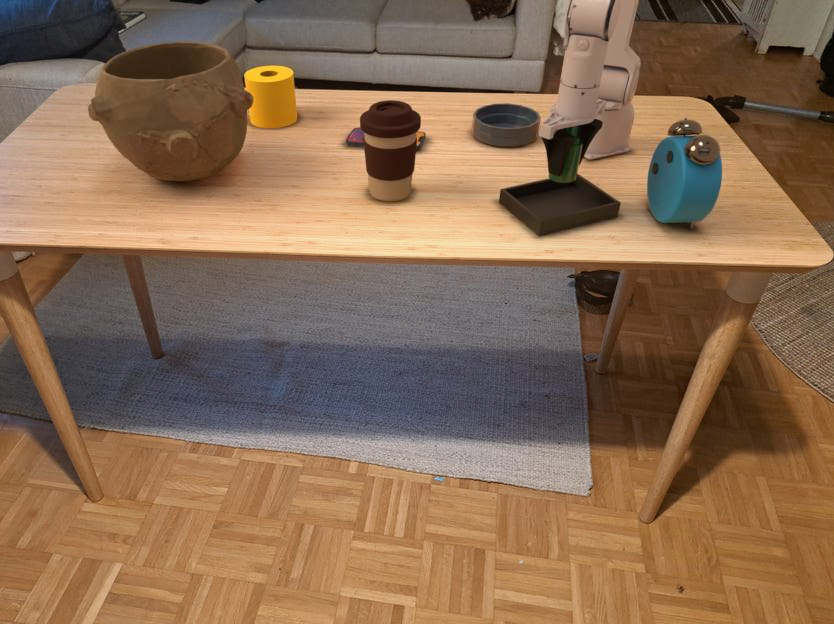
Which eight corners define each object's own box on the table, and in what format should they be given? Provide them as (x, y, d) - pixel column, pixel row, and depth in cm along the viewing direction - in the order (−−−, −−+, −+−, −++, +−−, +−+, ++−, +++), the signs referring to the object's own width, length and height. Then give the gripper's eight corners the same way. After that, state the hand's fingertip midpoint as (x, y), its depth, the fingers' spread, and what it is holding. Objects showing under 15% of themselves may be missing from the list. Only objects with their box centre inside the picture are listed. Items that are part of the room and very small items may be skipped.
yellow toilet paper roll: (243, 126, 143) (236, 80, 136) (259, 108, 150) (254, 64, 144) (288, 130, 141) (284, 83, 135) (303, 111, 148) (299, 67, 142)
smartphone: (354, 131, 140) (354, 126, 139) (426, 136, 136) (426, 131, 136) (344, 146, 134) (344, 141, 134) (419, 152, 131) (419, 146, 130)
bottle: (565, 168, 112) (575, 116, 106) (581, 180, 109) (592, 126, 103) (542, 173, 111) (551, 120, 105) (558, 185, 108) (568, 131, 102)
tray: (573, 185, 120) (575, 172, 118) (617, 216, 111) (621, 202, 110) (498, 202, 116) (500, 188, 114) (538, 236, 107) (541, 222, 106)
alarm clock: (705, 238, 106) (737, 145, 96) (665, 239, 106) (694, 147, 96) (674, 198, 116) (700, 110, 106) (638, 199, 116) (661, 112, 106)
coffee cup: (424, 203, 116) (427, 116, 106) (366, 209, 115) (364, 121, 105) (411, 177, 123) (413, 94, 113) (357, 182, 122) (355, 98, 112)
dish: (514, 118, 143) (517, 99, 141) (550, 141, 134) (553, 121, 131) (460, 129, 140) (461, 109, 137) (492, 153, 130) (495, 133, 128)
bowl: (80, 175, 127) (44, 63, 113) (204, 128, 142) (186, 25, 129) (164, 223, 112) (135, 102, 99) (292, 165, 128) (281, 54, 115)
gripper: (585, 64, 106) (569, 148, 115) (527, 87, 99) (515, 175, 107) (625, 75, 102) (606, 160, 111) (568, 100, 95) (552, 189, 104)
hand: (564, 168), depth 109 cm, fingers closed on bottle, 4 cm apart
